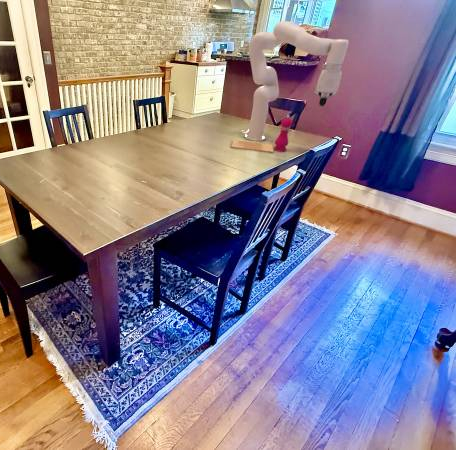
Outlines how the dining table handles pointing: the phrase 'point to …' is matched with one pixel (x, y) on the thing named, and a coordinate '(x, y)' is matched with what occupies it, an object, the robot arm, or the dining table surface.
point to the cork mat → (252, 146)
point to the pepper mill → (283, 134)
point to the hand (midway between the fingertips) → (321, 105)
